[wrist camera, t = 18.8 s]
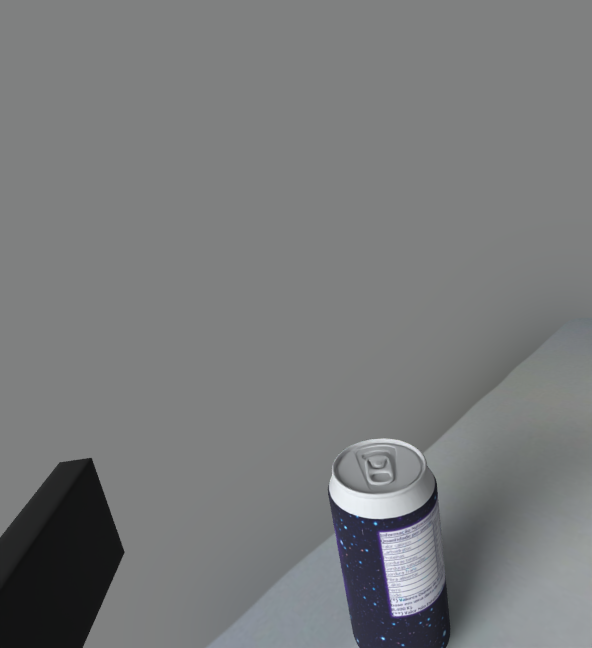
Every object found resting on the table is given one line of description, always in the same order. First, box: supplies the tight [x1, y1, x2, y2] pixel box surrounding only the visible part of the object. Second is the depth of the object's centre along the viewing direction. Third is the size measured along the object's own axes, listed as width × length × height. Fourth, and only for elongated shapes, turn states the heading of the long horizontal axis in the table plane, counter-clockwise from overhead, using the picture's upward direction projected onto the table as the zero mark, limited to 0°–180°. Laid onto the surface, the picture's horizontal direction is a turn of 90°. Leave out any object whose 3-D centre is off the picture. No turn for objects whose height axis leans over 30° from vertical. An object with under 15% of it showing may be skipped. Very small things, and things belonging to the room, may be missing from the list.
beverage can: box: [328, 438, 450, 648], centre depth 27 cm, size 6×6×12 cm
